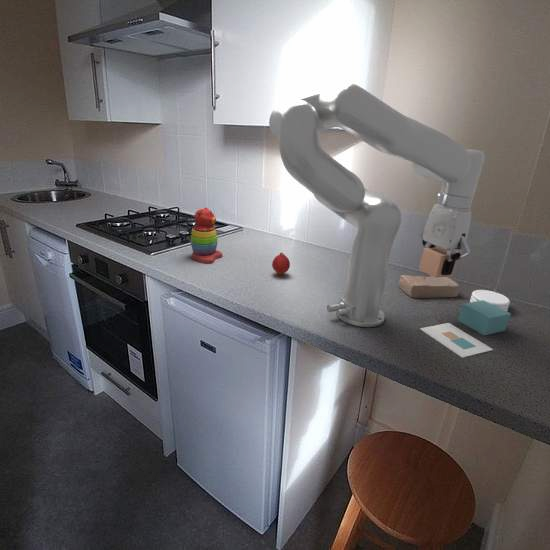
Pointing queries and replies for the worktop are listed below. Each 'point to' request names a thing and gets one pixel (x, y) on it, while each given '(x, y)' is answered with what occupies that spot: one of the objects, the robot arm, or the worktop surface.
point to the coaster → (491, 298)
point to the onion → (281, 264)
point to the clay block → (434, 262)
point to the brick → (428, 286)
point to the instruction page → (456, 340)
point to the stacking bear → (204, 237)
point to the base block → (484, 317)
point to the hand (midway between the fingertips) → (436, 269)
